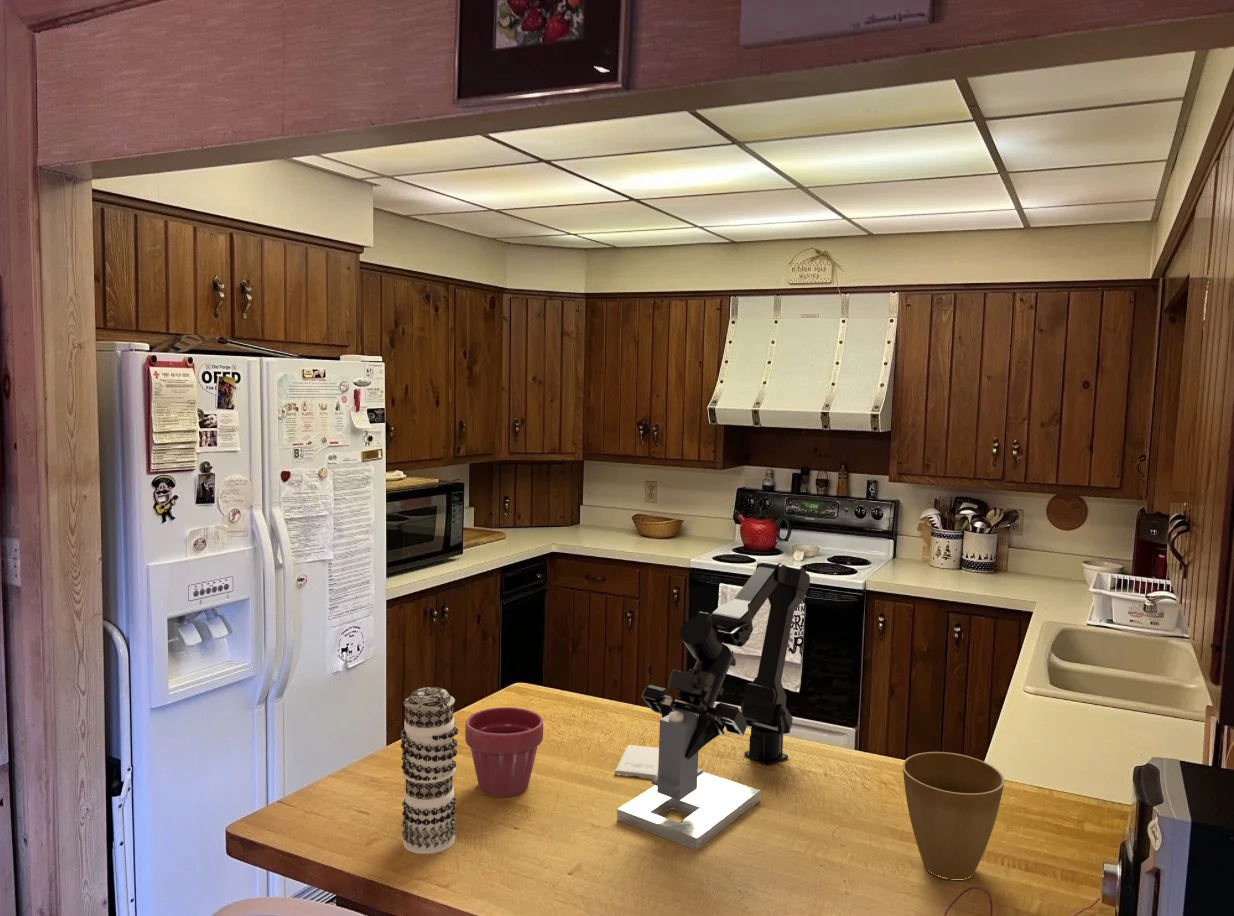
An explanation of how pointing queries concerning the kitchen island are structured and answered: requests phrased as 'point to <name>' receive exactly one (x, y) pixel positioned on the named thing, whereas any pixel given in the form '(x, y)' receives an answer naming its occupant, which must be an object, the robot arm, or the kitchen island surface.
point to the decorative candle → (429, 771)
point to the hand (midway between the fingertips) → (674, 754)
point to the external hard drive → (639, 762)
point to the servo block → (677, 756)
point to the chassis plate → (691, 810)
